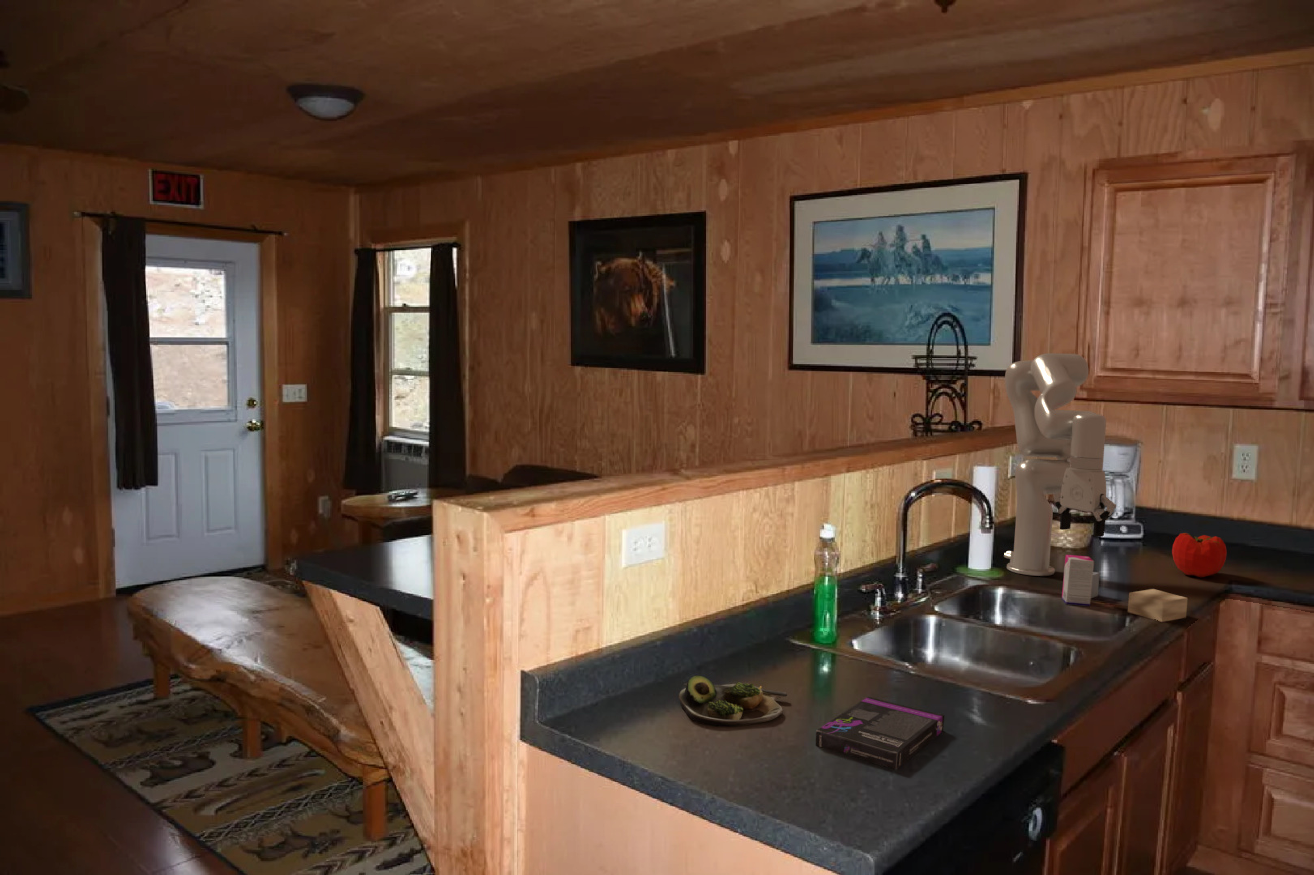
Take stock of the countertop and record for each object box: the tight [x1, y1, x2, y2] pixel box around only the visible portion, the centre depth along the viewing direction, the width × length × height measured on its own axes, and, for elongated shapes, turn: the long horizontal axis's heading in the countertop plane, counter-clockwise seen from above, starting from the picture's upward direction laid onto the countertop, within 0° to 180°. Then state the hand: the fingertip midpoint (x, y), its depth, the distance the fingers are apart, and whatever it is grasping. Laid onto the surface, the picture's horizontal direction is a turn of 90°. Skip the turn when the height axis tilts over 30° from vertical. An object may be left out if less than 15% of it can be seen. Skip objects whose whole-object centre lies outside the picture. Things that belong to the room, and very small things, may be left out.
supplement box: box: [1061, 554, 1095, 607], centre depth 248 cm, size 6×6×12 cm
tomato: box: [1171, 532, 1228, 578], centre depth 281 cm, size 13×14×12 cm
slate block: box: [1091, 571, 1100, 599], centre depth 255 cm, size 5×5×6 cm
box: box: [815, 696, 945, 771], centre depth 162 cm, size 14×4×20 cm
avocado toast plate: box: [678, 675, 788, 727], centre depth 174 cm, size 19×18×5 cm
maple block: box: [1127, 588, 1188, 623], centre depth 239 cm, size 9×9×5 cm
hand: (1081, 532), depth 246 cm, fingers open, 9 cm apart
